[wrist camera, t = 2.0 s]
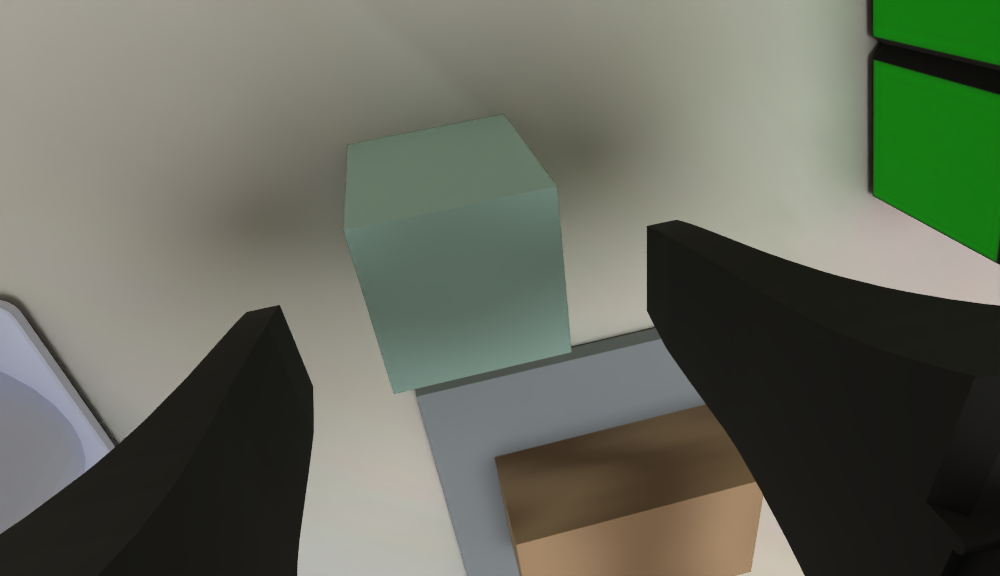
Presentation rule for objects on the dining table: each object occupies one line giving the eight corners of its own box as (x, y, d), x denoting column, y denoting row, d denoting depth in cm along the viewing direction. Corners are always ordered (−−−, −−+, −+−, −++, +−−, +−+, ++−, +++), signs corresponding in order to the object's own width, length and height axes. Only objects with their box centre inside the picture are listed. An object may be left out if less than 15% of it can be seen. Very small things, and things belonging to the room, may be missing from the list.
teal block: (385, 278, 17) (394, 393, 13) (347, 143, 15) (343, 230, 11) (521, 248, 18) (571, 351, 13) (503, 113, 15) (557, 186, 11)
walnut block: (511, 543, 24) (533, 632, 21) (494, 456, 21) (516, 545, 18) (703, 493, 24) (750, 571, 21) (710, 403, 22) (765, 478, 19)
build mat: (473, 592, 26) (475, 605, 25) (415, 384, 19) (416, 396, 19) (735, 521, 27) (742, 533, 26) (763, 302, 20) (774, 312, 20)
